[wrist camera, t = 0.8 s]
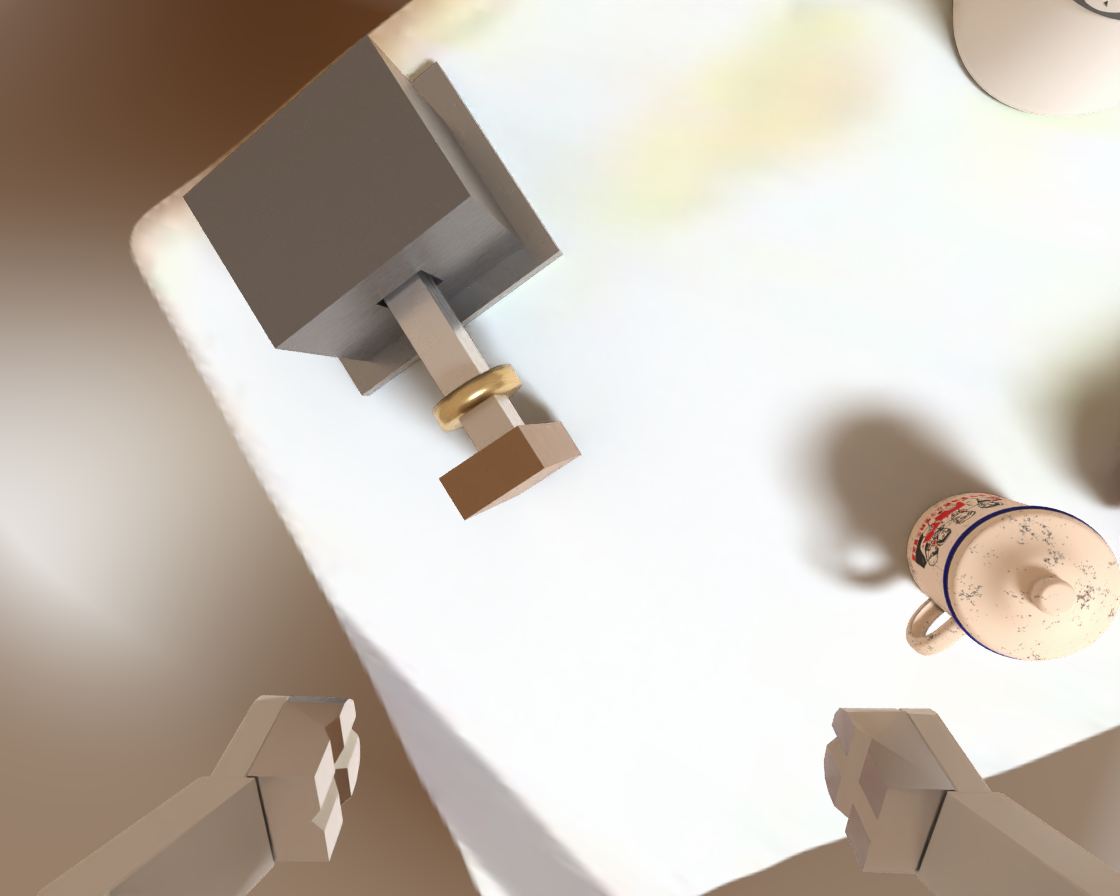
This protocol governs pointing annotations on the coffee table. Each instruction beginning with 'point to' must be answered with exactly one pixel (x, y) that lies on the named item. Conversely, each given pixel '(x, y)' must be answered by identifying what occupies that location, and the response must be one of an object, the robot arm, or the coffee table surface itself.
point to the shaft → (476, 405)
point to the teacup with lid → (1010, 578)
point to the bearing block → (368, 213)
